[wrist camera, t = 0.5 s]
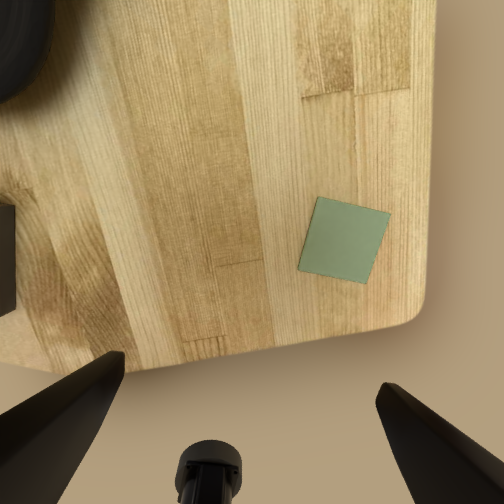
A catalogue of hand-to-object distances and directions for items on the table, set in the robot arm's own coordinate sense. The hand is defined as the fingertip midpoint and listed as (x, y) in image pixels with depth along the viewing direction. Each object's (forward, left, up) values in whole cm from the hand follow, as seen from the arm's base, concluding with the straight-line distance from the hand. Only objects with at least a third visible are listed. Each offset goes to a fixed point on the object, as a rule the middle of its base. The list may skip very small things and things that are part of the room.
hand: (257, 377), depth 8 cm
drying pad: (+4, -8, -15) cm, 17 cm away
